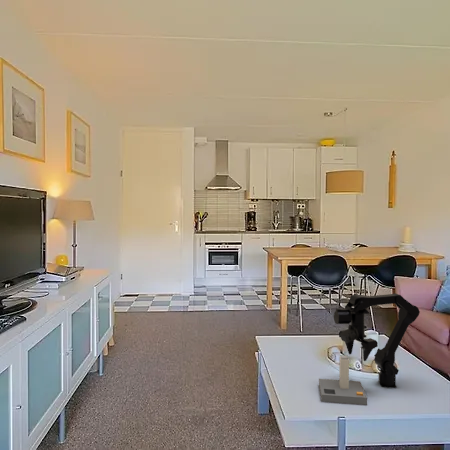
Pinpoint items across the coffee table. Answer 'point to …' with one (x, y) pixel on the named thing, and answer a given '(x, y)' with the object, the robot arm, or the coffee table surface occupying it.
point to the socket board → (342, 392)
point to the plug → (344, 372)
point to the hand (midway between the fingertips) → (357, 357)
